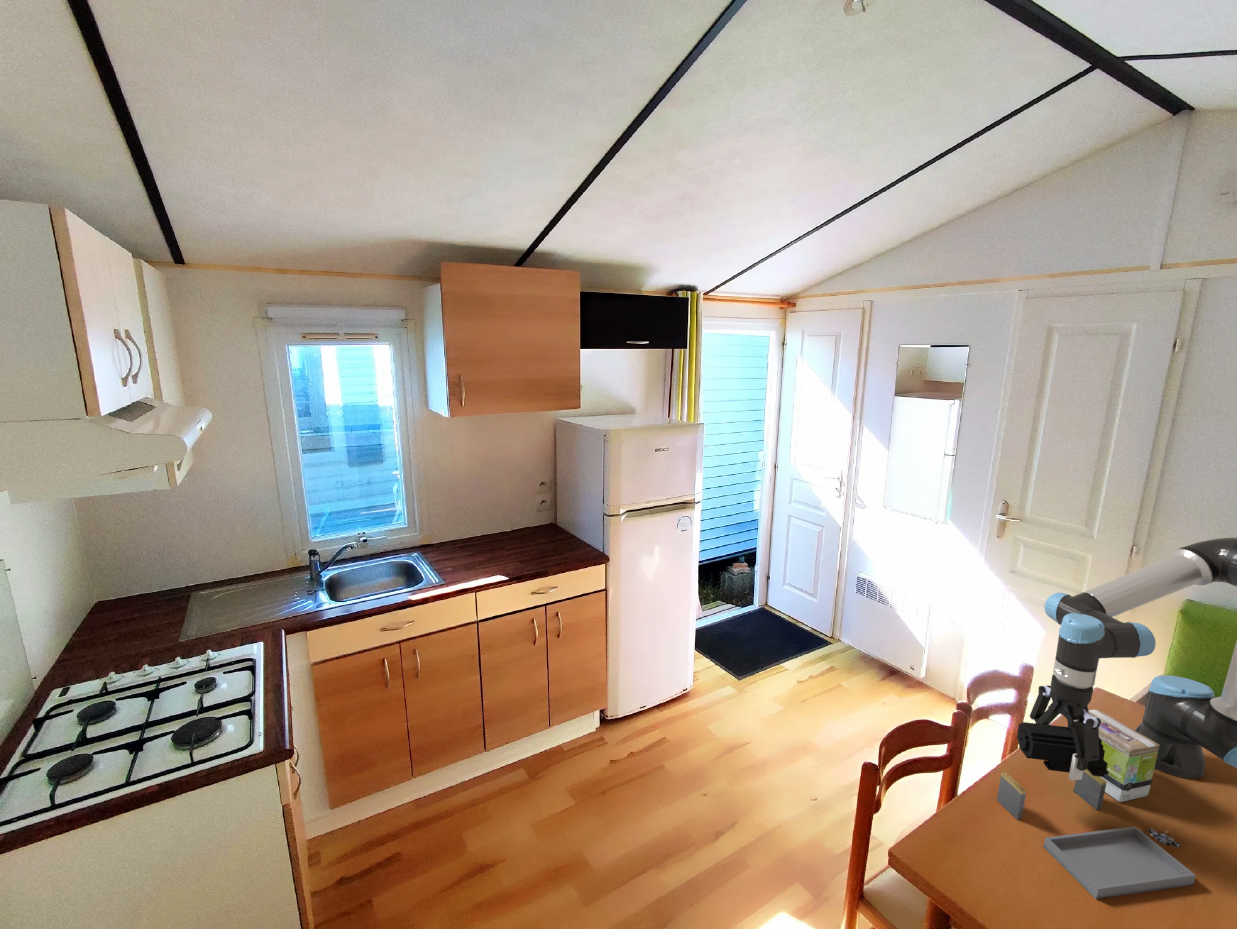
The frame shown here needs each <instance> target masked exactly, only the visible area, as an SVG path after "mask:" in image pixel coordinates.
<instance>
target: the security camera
mask: <svg viewBox="0 0 1237 929" xmlns="http://www.w3.org/2000/svg"><path fill="white" fill-rule="evenodd" d="M1017 728H1018V729H1017V733H1016V734H1017V735H1016V739H1017V744H1018V748H1019V750H1020V751H1021V752H1022V754H1024V756H1025V758H1027V759H1032V760H1040V761H1043V764H1044V766H1045V768H1047V770H1048V771H1054V772H1060V773H1061V772H1062V773H1070V767H1071V762H1072V757H1073V754H1077V753H1076V748H1075V744H1074V739H1073V735H1072V731H1071V727H1067V726H1063V725H1055V724H1054V725H1053V724H1052V725H1051V724H1049V725H1045V724H1036V722H1035V723H1034V722H1026V721H1023V722H1020V723H1018V727H1017ZM1101 743H1102V740H1101V739H1100V738H1099V760H1097V761H1088V765H1087V770H1088V771H1089V772H1090V773H1091V774H1092V776H1100V777H1104V774H1107V775H1108V773H1109V772H1108V770H1107V765H1108V764H1107V762H1106V761H1105V760H1104V754H1105V750H1104V749H1103V745H1102V744H1101ZM1083 752H1084V751H1083Z"/></svg>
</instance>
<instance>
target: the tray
mask: <svg viewBox="0 0 1237 929" xmlns="http://www.w3.org/2000/svg"><path fill="white" fill-rule="evenodd" d="M1043 842H1044V843H1043V848H1044V849H1045V851H1047V853H1049V854H1050V855H1051V857H1053V858H1054V859H1055V860H1056V861H1057V862H1058V863H1059V864H1060V865H1061V866H1062V867H1063V868H1064V869H1065V870H1066V871H1067V872H1068V874H1070V875H1071V876H1072V877H1073V878H1074V879H1075V880H1076V881H1077V882H1078V883H1079V884H1080V885H1081V886H1082V887H1083V888H1084V889H1085V890H1086V891H1087V892H1088V893H1089V895H1091V896H1092V897H1093V898H1094V899H1095V900H1099V899H1100V900H1101V899H1107V898H1113V897H1119V896H1120V897H1121V896H1126V895H1127V896H1128V895H1135V894H1142V893H1147V892H1155V891H1161V890H1168V889H1170V890H1171V889H1175V888H1182V887H1188V886H1189V887H1190V886H1194V883H1195V879H1196V874H1195V873H1193V871H1191V870H1190V869H1189V868H1187V866H1185V865H1184V864H1182V863H1181V862H1180V861H1179V860H1178V859H1176V857H1174V856H1173V855H1171V854H1170V853H1169V852H1168V851H1166V850H1165V849H1164V848H1163V847H1162V846H1160V845H1159V844H1158V843H1157V842H1156V841H1155V840H1152V839H1151V837H1149V836H1148V835H1147V834H1146V833H1144V832H1143V831H1142V830H1141V829H1139V828H1138V827H1136V826H1129V827H1128V826H1127V827H1118V828H1112V829H1105V830H1102V829H1101V830H1096V831H1088V832H1087V831H1086V832H1080V833H1072V834H1064V835H1057V836H1056V835H1055V836H1047V837H1045V838H1044V841H1043Z"/></svg>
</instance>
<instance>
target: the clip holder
mask: <svg viewBox="0 0 1237 929" xmlns="http://www.w3.org/2000/svg"><path fill="white" fill-rule="evenodd" d="M999 778H1000V780H999V783H998V784H999V785H998V791H997V794H996V795H997V797H996V801H997V802H998V803H999V804H1000V805H1001V806H1002V807H1003V808H1004V809H1005V810H1007V812H1008V813H1009V814H1010V815H1011V816H1012V817H1013V818H1014V819H1015V820H1016V821H1019V820H1022V817H1023V812H1024V808H1025V807H1024V806H1025V802H1026V796H1027V790H1026V789H1025V788H1024V787H1022V786H1021V785H1020V784H1019V782H1017V781H1016V780H1015V779H1014V778H1013V777H1012V776H1011V775H1009V774H1008V773H1007V772H1006V771H1003V772H1001V773H1000V777H999ZM1074 781H1075V783H1074V785H1073V786H1074V787H1073V793H1074V794H1076V795H1077V796H1079V797H1080V798H1081V799H1082V800H1084V802H1086V803H1087V804H1088V805H1090V806H1091V807H1092V808H1093V809H1094V810H1096V811H1100V810H1102V806H1103V801H1104V796H1105V793H1106V792H1105V788H1106V783H1107V782H1106V781H1105V780H1104V779H1102V778H1101V777H1100V776H1092V774H1091V773H1090V772H1089V771H1088V770H1087V769H1086V770H1083V775H1082V779H1081V780H1074Z"/></svg>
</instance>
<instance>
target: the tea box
mask: <svg viewBox="0 0 1237 929" xmlns="http://www.w3.org/2000/svg"><path fill="white" fill-rule="evenodd" d="M1088 711H1089V714H1090V715H1092V716H1093V717H1094V718H1099V719H1100V720H1101V724H1100V726H1099V738H1100V739H1101V740H1102V743H1101V744H1102V745H1103V749H1104V750H1105V754H1104V760H1105V761H1106V762H1107V764H1108V765H1107V770H1108V772H1109V773H1108V775H1107V774H1104V777H1101V778H1102V779H1104V780H1105V781H1106V782H1107V783H1106V788H1105V793H1106V794H1107V795H1109V796H1110V797H1112V798H1113V799H1115V800H1116V801H1117V802H1118V803H1122V802H1127V801H1132V800H1135V799H1141V798H1145V797H1148V795H1149V793H1150V789H1151V785H1152V781H1153V777H1154V772H1155V769H1156V768H1155V763H1156V759H1157V755H1158V750H1159V744H1157V743H1156V742H1154V741H1152V740H1150V739H1149V738H1147V737H1145V736H1143V735H1142V734H1140V733H1138V732H1136V731H1135V730H1136V729H1133V728H1131V727H1130V726H1128V725H1126V724H1124V723H1123V722H1121V721H1119V720H1118V719H1115V718H1113V717H1112V716H1110V715H1108V714H1106V713H1104V712H1103V711H1101V710H1099V709H1098V708H1096V709H1090V710H1089V709H1088ZM1074 721H1078V720H1074ZM1066 727H1071V726H1070V725H1069V724H1068V723H1067V726H1066Z"/></svg>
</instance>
